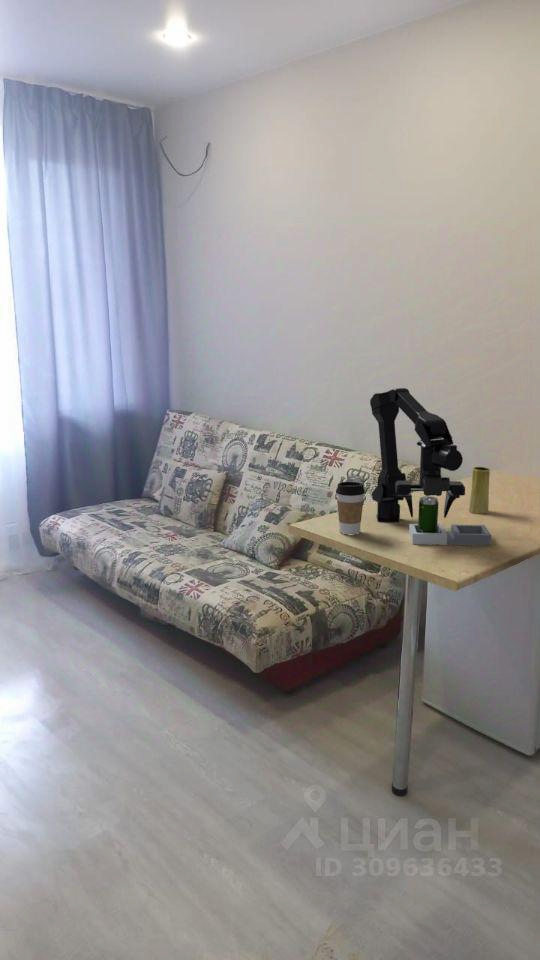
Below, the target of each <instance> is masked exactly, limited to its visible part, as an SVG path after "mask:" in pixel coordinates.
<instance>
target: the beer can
mask: <svg viewBox="0 0 540 960" xmlns="http://www.w3.org/2000/svg"><path fill="white" fill-rule="evenodd" d="M438 500H439V499H438V497H435V496H431V495H430V496H426V495H425V496H421V497H419V501H418V518H417V519H418V520H417V522H418V523H417V524H418V533H437V524H439V523H438V521H439V520H438V518H439V517H438V516H439V501H438Z"/></svg>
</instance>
